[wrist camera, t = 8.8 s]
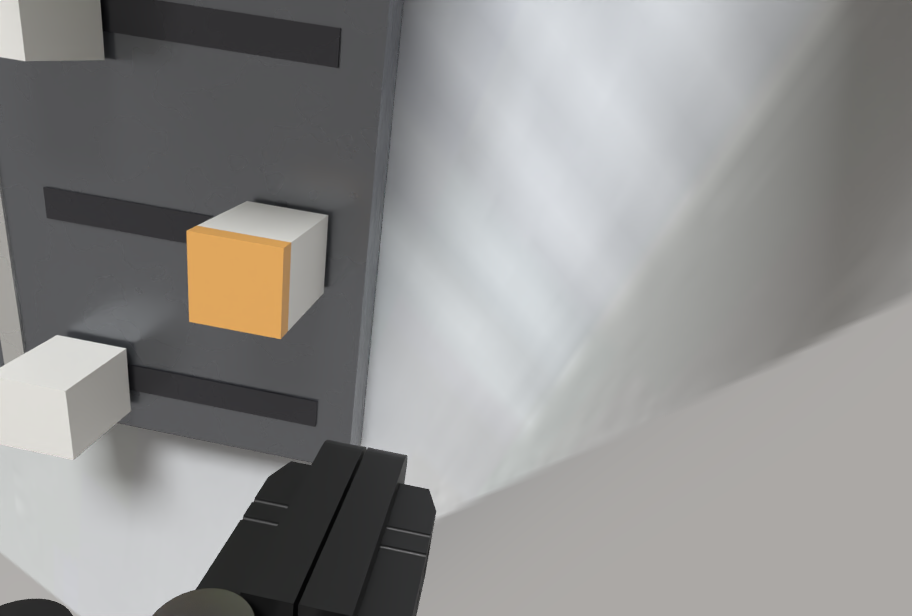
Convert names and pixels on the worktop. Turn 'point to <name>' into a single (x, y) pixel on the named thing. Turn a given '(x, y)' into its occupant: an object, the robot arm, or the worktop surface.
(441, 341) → the worktop surface
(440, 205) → the worktop surface
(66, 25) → the block
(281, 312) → the block
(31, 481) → the worktop surface
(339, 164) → the breaker panel
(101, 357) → the breaker far
